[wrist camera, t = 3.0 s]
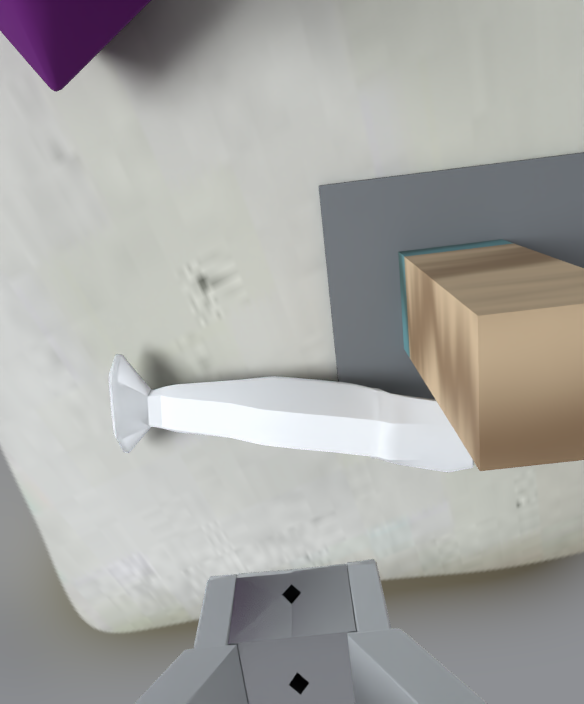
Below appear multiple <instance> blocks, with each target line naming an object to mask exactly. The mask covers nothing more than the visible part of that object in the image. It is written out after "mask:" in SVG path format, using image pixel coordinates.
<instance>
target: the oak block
mask: <svg viewBox="0 0 584 704" xmlns="http://www.w3.org/2000/svg"><path fill="white" fill-rule="evenodd" d="M398 256H399V273H400V290H401V307H402V324H403V341H404V350H405V351H406V353H407V354H408V356H409V358H410V359H411V361H412V363H413V364H414V366H415V367H416V369H417V371H418V372H419V374H420V375H421V377H422V379H423V380H424V382H425V383H426V385H427V387H428V388H429V390H430V391H431V393H432V395H433V396H434V398H435V400H436V401H437V403H438V404H439V406H440V408H441V409H442V411H443V412H444V414H445V416H446V417H447V419H448V420H449V422H450V424H451V425H452V427H453V428H454V430H455V432H456V433H457V435H458V437H459V438H460V440H461V441H462V443H463V445H464V446H465V448H466V449H467V451H468V453H469V454H470V456H471V457H472V459H473V461H474V462H475V464H476V466H477V467H478V469H479V470H480V471H485V470H494V469H503V468H513V467H522V466H531V465H541V464H550V463H559V462H568V461H578V460H584V268H581V267H579V266H576V265H573V264H570V263H567V262H565V261H562V260H559V259H556V258H553V257H551V256H548V255H545V254H542V253H539V252H536V251H534V250H531V249H528V248H525V247H522V246H520V245H517V244H514V243H511V242H508V241H506V240H503V239H499V240H491V241H483V242H474V243H466V244H458V245H450V246H441V247H433V248H425V249H417V250H408V251H400V252H398Z"/></svg>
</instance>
